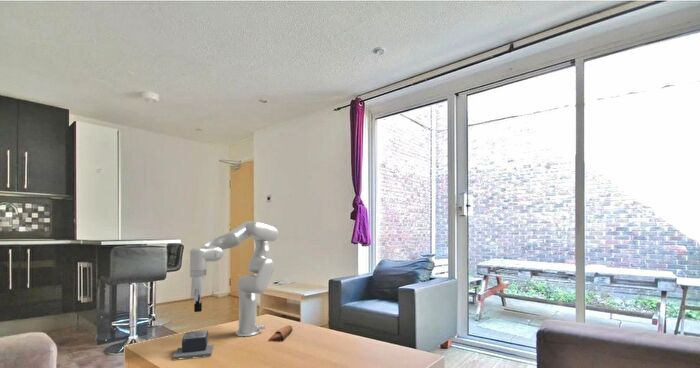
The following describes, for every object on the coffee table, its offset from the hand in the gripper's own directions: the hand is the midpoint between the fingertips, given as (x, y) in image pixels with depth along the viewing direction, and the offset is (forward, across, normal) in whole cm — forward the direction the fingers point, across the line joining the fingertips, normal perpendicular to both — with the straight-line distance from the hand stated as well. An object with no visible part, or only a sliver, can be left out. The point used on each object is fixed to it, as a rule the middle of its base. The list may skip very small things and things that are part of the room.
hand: (198, 311), depth 182 cm
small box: (+13, -3, -1) cm, 14 cm away
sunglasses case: (+20, -9, +40) cm, 46 cm away
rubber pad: (+18, +6, -1) cm, 19 cm away
